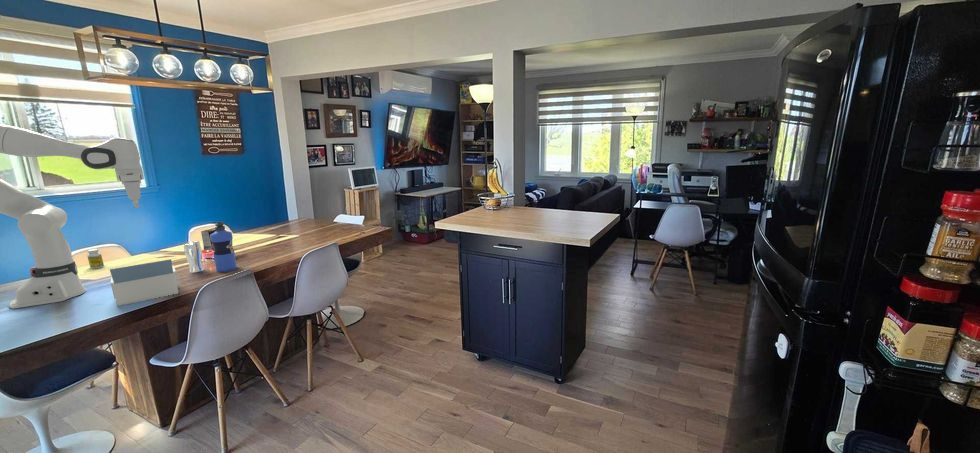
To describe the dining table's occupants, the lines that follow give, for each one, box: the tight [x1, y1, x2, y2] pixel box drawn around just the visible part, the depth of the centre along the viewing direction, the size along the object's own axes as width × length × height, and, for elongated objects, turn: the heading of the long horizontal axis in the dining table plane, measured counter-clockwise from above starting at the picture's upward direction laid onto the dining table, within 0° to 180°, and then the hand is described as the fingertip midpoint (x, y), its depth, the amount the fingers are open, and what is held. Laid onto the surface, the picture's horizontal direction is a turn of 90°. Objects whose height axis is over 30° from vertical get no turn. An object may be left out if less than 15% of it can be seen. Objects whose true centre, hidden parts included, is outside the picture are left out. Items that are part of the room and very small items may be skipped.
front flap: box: [109, 259, 173, 284], centre depth 166 cm, size 19×9×1 cm
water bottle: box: [210, 221, 238, 273], centre depth 207 cm, size 9×9×25 cm
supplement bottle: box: [87, 248, 105, 269], centre depth 216 cm, size 5×5×10 cm
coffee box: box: [200, 227, 216, 251], centre depth 232 cm, size 9×6×16 cm
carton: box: [110, 264, 180, 307], centre depth 175 cm, size 21×14×10 cm
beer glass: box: [183, 240, 205, 274], centre depth 207 cm, size 7×7×15 cm
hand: (136, 207), depth 178 cm, fingers closed
